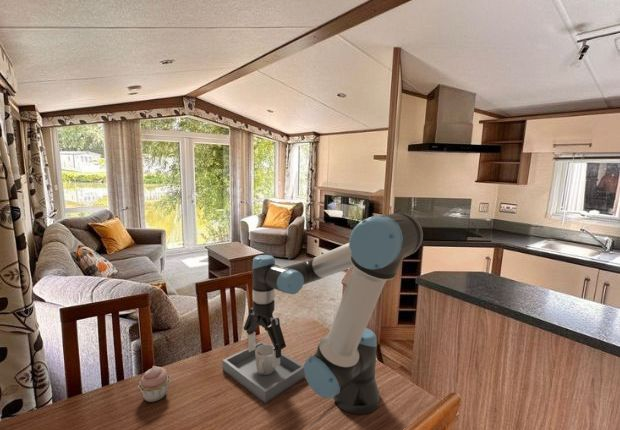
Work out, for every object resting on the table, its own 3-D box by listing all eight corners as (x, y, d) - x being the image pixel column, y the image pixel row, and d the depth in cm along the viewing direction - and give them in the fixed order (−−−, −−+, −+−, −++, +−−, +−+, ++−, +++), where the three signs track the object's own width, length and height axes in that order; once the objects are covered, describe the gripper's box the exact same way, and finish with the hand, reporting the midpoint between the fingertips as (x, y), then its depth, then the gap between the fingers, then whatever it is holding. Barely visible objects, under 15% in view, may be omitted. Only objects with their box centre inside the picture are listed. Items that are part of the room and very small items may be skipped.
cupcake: (157, 382, 106) (156, 354, 105) (177, 391, 102) (176, 362, 101) (131, 399, 98) (130, 369, 96) (151, 410, 94) (150, 379, 92)
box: (305, 377, 110) (305, 366, 110) (265, 403, 97) (265, 391, 97) (261, 350, 126) (261, 341, 126) (222, 370, 113) (222, 359, 113)
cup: (270, 384, 105) (270, 362, 104) (248, 381, 107) (248, 359, 106) (280, 365, 116) (280, 345, 115) (259, 362, 117) (259, 342, 116)
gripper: (296, 307, 103) (296, 367, 105) (250, 288, 120) (250, 340, 122) (279, 314, 97) (279, 377, 100) (233, 293, 114) (234, 348, 117)
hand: (263, 357), depth 111 cm, fingers open, 13 cm apart
